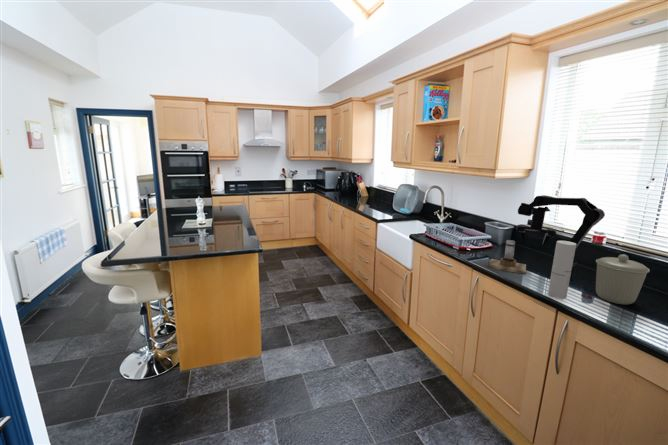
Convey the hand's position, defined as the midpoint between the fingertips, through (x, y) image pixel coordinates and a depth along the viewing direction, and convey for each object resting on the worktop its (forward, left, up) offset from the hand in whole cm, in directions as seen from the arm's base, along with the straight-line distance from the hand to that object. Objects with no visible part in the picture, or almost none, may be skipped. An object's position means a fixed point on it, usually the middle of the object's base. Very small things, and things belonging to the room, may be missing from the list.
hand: (532, 244), depth 185 cm
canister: (-33, +29, -14) cm, 46 cm away
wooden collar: (+11, +8, -12) cm, 18 cm away
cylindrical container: (-11, +38, -14) cm, 42 cm away
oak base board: (+11, +8, -13) cm, 19 cm away
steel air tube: (+11, +8, -12) cm, 18 cm away
